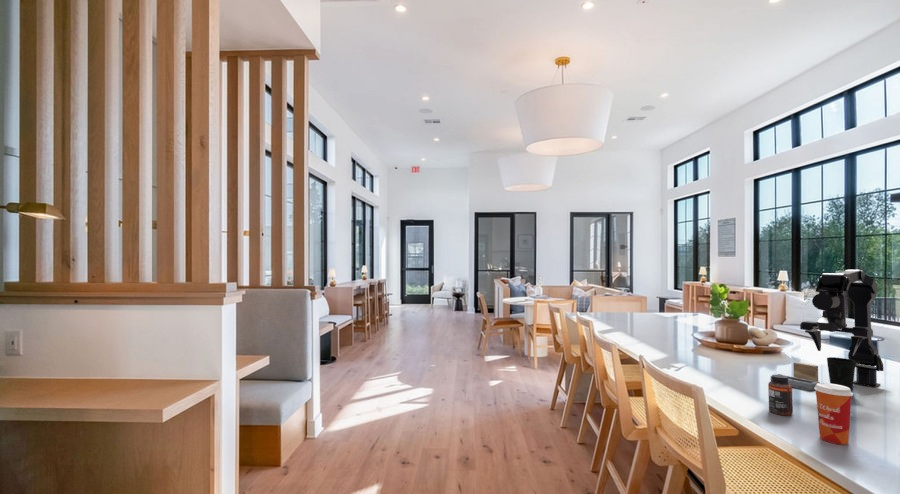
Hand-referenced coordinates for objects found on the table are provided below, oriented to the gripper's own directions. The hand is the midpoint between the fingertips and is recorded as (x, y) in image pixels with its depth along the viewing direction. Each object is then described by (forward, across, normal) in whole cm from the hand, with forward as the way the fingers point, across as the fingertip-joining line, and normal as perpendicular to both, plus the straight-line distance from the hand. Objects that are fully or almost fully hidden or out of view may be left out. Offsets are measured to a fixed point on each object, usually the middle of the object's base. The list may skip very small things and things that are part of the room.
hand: (835, 353), depth 154 cm
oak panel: (+15, -13, +11) cm, 23 cm away
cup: (+15, 0, +5) cm, 16 cm away
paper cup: (+15, +16, -51) cm, 55 cm away
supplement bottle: (+15, -1, -39) cm, 41 cm away
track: (+15, -13, +2) cm, 20 cm away
